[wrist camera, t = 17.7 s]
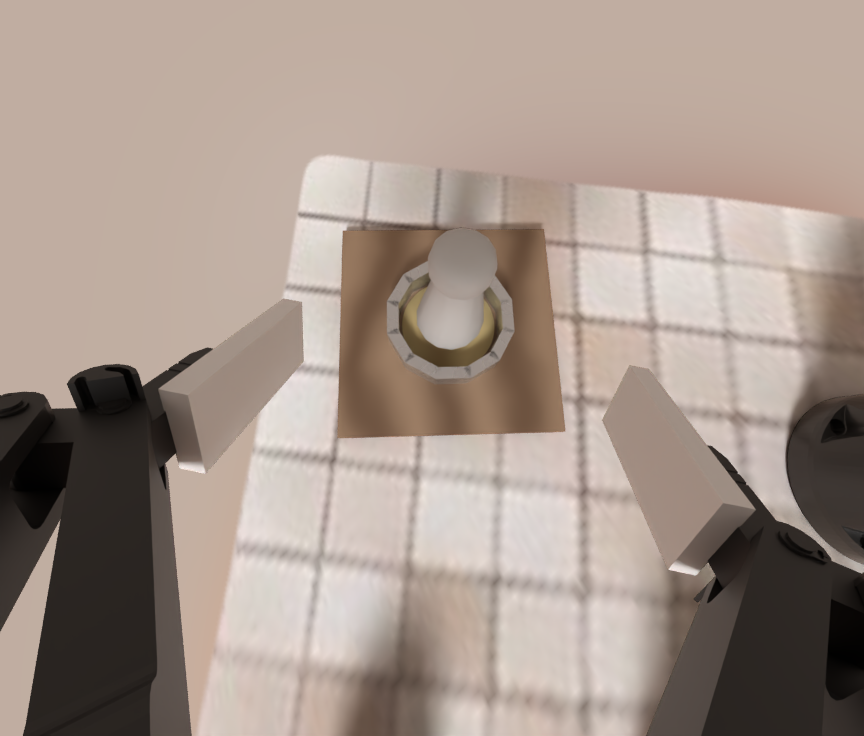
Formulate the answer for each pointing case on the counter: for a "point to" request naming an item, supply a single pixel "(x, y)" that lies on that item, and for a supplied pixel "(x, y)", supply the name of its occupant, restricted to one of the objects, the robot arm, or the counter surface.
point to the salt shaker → (456, 288)
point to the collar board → (437, 367)
